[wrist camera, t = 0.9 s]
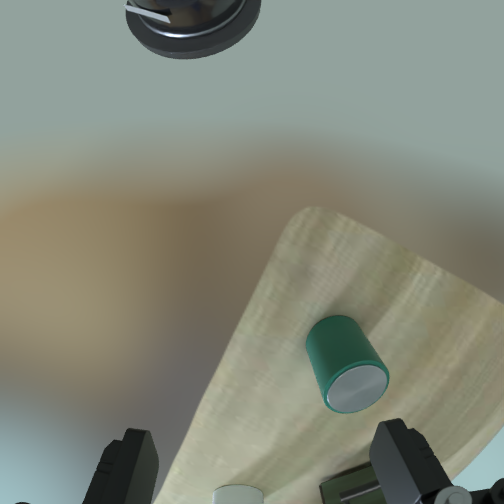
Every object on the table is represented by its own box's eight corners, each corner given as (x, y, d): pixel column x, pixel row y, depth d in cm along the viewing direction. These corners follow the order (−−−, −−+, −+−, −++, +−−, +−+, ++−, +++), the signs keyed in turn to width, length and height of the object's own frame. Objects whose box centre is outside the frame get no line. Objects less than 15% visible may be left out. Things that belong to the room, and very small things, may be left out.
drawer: (313, 469, 31) (325, 521, 23) (399, 437, 31) (422, 484, 23) (336, 513, 36) (345, 550, 28) (401, 489, 35) (416, 524, 27)
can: (309, 315, 26) (330, 364, 19) (365, 314, 26) (398, 359, 19) (302, 364, 28) (317, 417, 21) (354, 362, 28) (380, 411, 21)
